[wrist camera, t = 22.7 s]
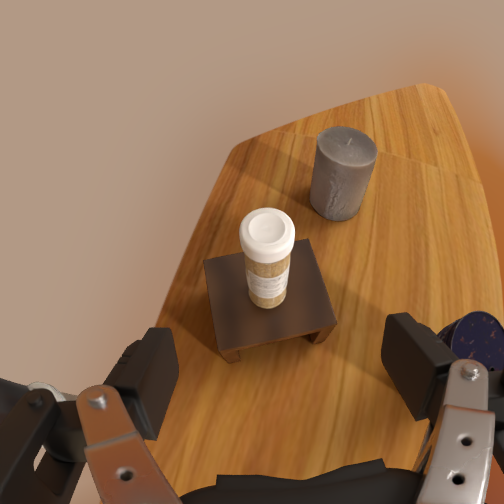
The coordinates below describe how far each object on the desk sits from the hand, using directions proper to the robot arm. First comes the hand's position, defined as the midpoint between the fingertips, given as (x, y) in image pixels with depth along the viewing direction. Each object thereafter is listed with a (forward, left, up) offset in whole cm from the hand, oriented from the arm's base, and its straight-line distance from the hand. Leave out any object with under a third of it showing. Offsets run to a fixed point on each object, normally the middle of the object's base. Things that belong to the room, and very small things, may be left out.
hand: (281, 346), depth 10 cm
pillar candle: (+19, +29, -32) cm, 47 cm away
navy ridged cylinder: (+23, -5, -32) cm, 40 cm away
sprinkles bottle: (+2, +11, -23) cm, 26 cm away
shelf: (+2, +11, -32) cm, 34 cm away
